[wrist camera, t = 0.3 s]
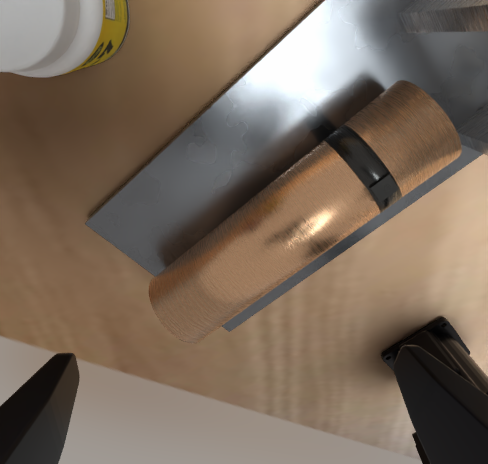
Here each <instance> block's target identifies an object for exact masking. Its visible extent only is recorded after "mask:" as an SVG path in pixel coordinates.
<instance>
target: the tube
mask: <svg viewBox="0 0 488 464" xmlns="http://www.w3.org/2000/svg"><path fill="white" fill-rule="evenodd" d="M461 152H462V147H461V141H460V138H459V135H458V133H457V131H456V129H455V127H454V125H453V123H452V122H451V120H450V119H449V117H448V116H447V114H446V113H445V112H444V110H443V109H442V108H441V107H440V106H439V104H438V103H437V102H436V101H435V100H434V99H433V98H432V97H431V96H430V95H429V94H427V93H426V92H425V91H424V90H422V89H421V88H420V87H418V86H416V85H415V84H413V83H411V82H408V81H405V80H399V81H396V82H395V83H394V84H393V85H391V86H390V87H389V88H388V89H387V90H385V91H384V92H383V93H382V94H380V95H379V96H378V97H377V98H375V99H374V100H373V101H372V102H370V103H369V104H368V105H367V106H366V107H364V108H363V109H362V110H361V111H359V112H358V113H357V114H356V115H354V116H353V117H352V118H351V119H349V120H348V121H347V122H346V123H345V124H343V125H341V126H340V127H339V128H338V129H336V130H335V131H334V132H333V133H332V134H330V135H329V136H328V137H327V138H325V139H324V140H323V141H322V142H321V143H320V144H319V145H317V146H316V147H315V148H314V149H312V150H311V151H310V152H309V153H307V154H306V155H305V156H304V157H302V158H301V159H300V160H299V161H298V162H296V163H295V164H294V165H293V166H291V167H290V168H289V169H288V170H286V171H285V172H284V173H283V174H281V175H280V176H279V177H278V178H277V179H275V180H274V181H273V182H272V183H270V184H269V185H268V186H267V187H265V188H264V189H263V190H262V191H260V192H259V193H258V194H257V195H256V196H254V197H253V198H252V199H251V200H249V201H248V202H247V203H246V204H244V205H243V206H242V207H241V208H239V209H238V210H237V211H236V212H235V213H233V214H232V215H231V216H230V217H228V218H227V219H226V220H225V221H223V222H222V223H221V224H220V225H218V226H217V227H216V228H215V229H214V230H212V231H211V232H210V233H209V234H207V235H206V236H205V237H204V238H202V239H201V240H200V241H199V242H197V243H196V244H195V245H194V246H192V247H191V248H190V249H189V250H188V251H186V252H185V253H184V254H183V255H181V256H180V257H179V258H178V259H176V260H175V261H174V262H173V263H171V264H170V265H169V266H168V267H167V268H165V269H164V270H163V271H162V272H160V273H159V274H158V275H157V276H155V277H154V278H153V279H152V280H151V282H150V285H149V297H150V301H151V304H152V307H153V309H154V311H155V313H156V315H157V317H158V318H159V320H160V321H161V323H162V324H163V325H164V326H165V327H166V329H167V330H168V331H169V332H171V333H172V334H173V335H174V336H176V337H177V338H179V339H180V340H182V341H184V342H188V343H197V342H199V341H201V340H202V339H204V338H205V337H206V336H208V335H209V334H211V333H212V332H214V331H215V330H216V329H218V328H219V327H221V326H222V325H223V324H225V323H226V322H228V321H229V320H230V319H232V318H233V317H235V316H236V315H237V314H239V313H240V312H242V311H243V310H244V309H246V308H247V307H249V306H250V305H251V304H253V303H254V302H256V301H257V300H259V299H260V298H261V297H263V296H264V295H266V294H267V293H268V292H270V291H271V290H273V289H274V288H275V287H277V286H278V285H280V284H281V283H282V282H284V281H285V280H287V279H288V278H289V277H291V276H292V275H294V274H295V273H296V272H298V271H299V270H301V269H302V268H304V267H305V266H306V265H308V264H309V263H311V262H312V261H313V260H315V259H316V258H318V257H319V256H320V255H322V254H323V253H325V252H326V251H327V250H329V249H330V248H332V247H333V246H334V245H336V244H337V243H339V242H340V241H341V240H343V239H344V238H346V237H347V236H349V235H350V234H351V233H353V232H354V231H356V230H357V229H358V228H360V227H361V226H363V225H364V224H365V223H367V222H368V221H370V220H371V219H372V218H374V217H375V216H377V215H378V214H379V213H382V212H383V211H384V210H386V209H387V208H389V207H390V206H391V205H393V204H394V203H396V202H397V201H398V200H400V199H401V198H402V197H403V196H405V195H406V194H408V193H409V192H410V191H412V190H413V189H415V188H416V187H417V186H419V185H420V184H422V183H423V182H424V181H426V180H427V179H429V178H430V177H431V176H433V175H434V174H436V173H437V172H439V171H440V170H441V169H443V168H444V167H446V166H447V165H448V164H450V163H451V162H453V161H454V160H455V159H457V158H458V157H459V156H460V155H461Z"/></svg>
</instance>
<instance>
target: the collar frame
mask: <svg viewBox="0 0 488 464" xmlns="http://www.w3.org/2000/svg"><path fill="white" fill-rule="evenodd" d="M399 16H400V18H401V20H402V22H403V25H404V27H405V29H406V31H407V33H421V32H482V31H488V0H415V1H414V2H412V3H411V4H410V5H409V6H408V7H407V8H405V9H404V10H403V11H402V12H401V13H400V14H399ZM455 129H456V131H457V133H458V135H459V138H460V141H461V145H463V146H466V147H468V148H471V149H473V150H476V151H478V152H480V153H483V154H485V155H488V104H487V105H486V106H484V107H483V108H482V109H480V110H479V111H478V112H476V113H475V114H474V115H472V116H471V117H470V118H468V119H467V120H465V121H464V122H463V123H461V124H460V125H459V126H457V127H456V128H455Z"/></svg>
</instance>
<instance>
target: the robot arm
mask: <svg viewBox="0 0 488 464" xmlns="http://www.w3.org/2000/svg"><path fill="white" fill-rule="evenodd" d="M469 355H470V351H469V350H468V348H467V347H466V345H465V344H464V343H463V341H462V340H461V338H460V337H459V335H458V334H457V333H456V331H455V330H454V328H453V327H452V326H451V324H450V323H449V321H448V320H447V319H446V318H440V319H438V320H436V321H435V322H433V323H431V324H430V325H428V326H426V327H425V328H423V329H421V330H420V331H418V332H416V333H414V334H413V335H411V336H409V337H408V338H406V339H404V340H403V341H401V342H399V343H398V344H396V345H394V346H393V347H391V348H389V349H388V350H386V351H384V352H383V353H382V354H381V357H382V359H383V361H384V362H385V363H386V364H387V365H388V366H389V367H390V368H391V369H392V370H393V371H394V373H395V376H396V379H397V382H398V385H399V387H400V390H401V393H402V396H403V399H404V402H405V404H406V407H407V410H408V413H409V416H410V418H411V421H412V424H413V426H414V428H415V431H416V432H415V433H413V434H412V436H413V438H414V441H415V443H416V448H417V451H418V453H419V456H420V458H421V461H422V463H423V464H488V377H487V376H486V374H485V373H484V372H483V371H482V370H481V369H480V367H479V366H478V365H477V364H476V363H475V362H474V360H473V359H472V358H471V357H470V356H469ZM78 385H79V370H78V366H77V361H76V357H75V355H74V354H73V353H58V354H56V355H54V356H53V357H52V358H51V359H50V360H49V361H48V362H47V363H46V364H45V365H44V366H43V367H41V368H40V369H39V370H38V371H37V372H36V373H35V374H34V375H33V376H32V377H31V378H30V379H29V380H28V381H27V382H26V383H25V384H23V385H22V386H21V387H20V388H19V389H18V390H17V391H16V392H15V393H14V394H13V395H12V396H11V397H10V398H9V399H8V400H7V401H5V402H4V403H3V404H2V405H1V406H0V464H58V462H59V459H60V456H61V453H62V450H63V447H64V443H65V439H66V435H67V431H68V427H69V422H70V418H71V414H72V410H73V406H74V402H75V397H76V393H77V388H78Z"/></svg>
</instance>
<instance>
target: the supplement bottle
mask: <svg viewBox="0 0 488 464" xmlns="http://www.w3.org/2000/svg"><path fill="white" fill-rule="evenodd" d="M129 20H130V14H129V5H128V0H0V72H12V73H15V74H18V75H22V76H28V77H46V78H47V77H52V76H60V75H63V74H67V73H70V72H73V71H76V70H79V69H83V68H86V67H89V66H93V65H96V64H99V63H101V62H104V61H106V60H107V59H109V58H111V57H112V56H113V55H114V54H116V52H117V51H118V50H119V49H120V48H121V46H122V45H123V43H124V41H125V39H126V36H127V33H128V28H129Z"/></svg>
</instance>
